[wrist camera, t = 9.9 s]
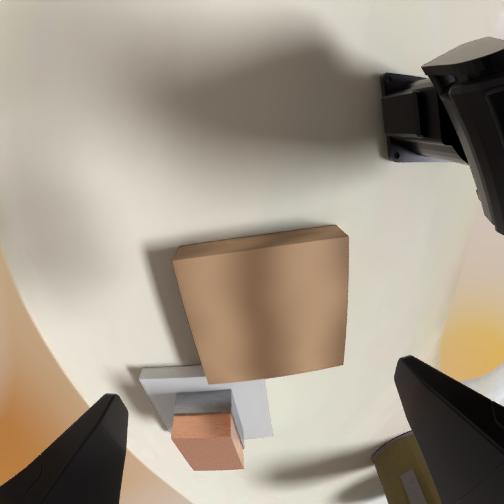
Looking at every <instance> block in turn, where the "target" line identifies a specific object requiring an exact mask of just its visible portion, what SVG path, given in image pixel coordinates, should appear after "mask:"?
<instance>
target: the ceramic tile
mask: <svg viewBox="0 0 504 504" xmlns="http://www.w3.org/2000/svg"><path fill="white" fill-rule="evenodd" d="M139 381H140V382H141V384H142V386H143V388H144V390H145V392H146V394H147V395H148V397H149V399H150V401H151V403H152V404H153V406H154V408H155V410H156V411H157V413H158V415H159V416H160V418H161V420H162V421H163V423H164V425H165V426H166V428H167V429H168V431H169V433H170V434H172V428H173V422H174V415H173V409H174V404H175V398H176V393H179V392H200V391H215V390H227V389H231V390H232V393H233V397H234V400H235V404H236V407H237V410H238V414H239V417H240V420H241V424H242V427H243V432H244V439H254V438H263V437H271V436H273V429H272V422H271V416H270V409H269V403H268V396H267V390H266V383H265V379H260V380H252V381H243V382H233V383H223V384H210V385H209V384H208V382H207V379H206V376H205V373H204V370H203V367H202V365H194V366H178V367H156V368H142V371H141V374H140V377H139Z"/></svg>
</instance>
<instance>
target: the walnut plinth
mask: <svg viewBox="0 0 504 504" xmlns="http://www.w3.org/2000/svg"><path fill="white" fill-rule="evenodd" d="M172 262H173V266H174V270H175V274H176V278H177V282H178V286H179V290H180V293H181V297H182V301H183V304H184V308H185V311H186V315H187V318H188V322H189V325H190V328H191V332H192V335H193V338H194V342H195V345H196V348H197V351H198V354H199V358H200V361H201V364H202V367H203V370H204V373H205V376H206V379H207V382H208V384H209V385H210V384H223V383H233V382H243V381H252V380H260V379H267V378H274V377H281V376H287V375H294V374H299V373H305V372H310V371H316V370H321V369H326V368H331V367H335V366H340V365H343V362H344V351H345V338H346V324H347V306H348V277H349V236H348V235H347V234H346V233H344V232H343V231H342V230H341V229H340V228H339V227H338V226H337V225H332V226H325V227H317V228H309V229H301V230H294V231H286V232H279V233H271V234H264V235H257V236H249V237H242V238H235V239H228V240H221V241H214V242H207V243H200V244H193V245H187V246H180V247H179V248H178V250H177V252H176V254H175V256H174V258H173V260H172Z"/></svg>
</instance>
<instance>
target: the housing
mask: <svg viewBox="0 0 504 504" xmlns="http://www.w3.org/2000/svg"><path fill="white" fill-rule="evenodd" d="M173 415H174V422H173V428H172V434H171V439H172V440H173V442H174V443H175V445H176V446H177V448H178V449H179V451H180V452H181V454H182V455H183V456H184V458H185V459H186V461H187V462H188V463H189V465H190V466H191V467H192V469H193V470H195V471H207V470H235V469H244V459H243V449H244V432H243V427H242V424H241V420H240V417H239V414H238V410H237V407H236V404H235V400H234V397H233V393H232V390H231V389H227V390H215V391H200V392H179V393H176V398H175V404H174V409H173Z"/></svg>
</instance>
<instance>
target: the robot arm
mask: <svg viewBox="0 0 504 504" xmlns="http://www.w3.org/2000/svg"><path fill="white" fill-rule="evenodd" d="M421 68H422V70H423V71H424V73H425V75H428V77H429V78H428V79H427V78H421V77H415V76H408V75H401V74H393V73H385V74H382V75H381V77H380V82H381V88H382V95H383V98H382V109H383V118H384V128H385V133H386V135H387V144H388V156H389V159H390V160H391V161H393V162H456V163H461V164H465V165H469V166H470V169H471V172H472V175H473V178H474V181H475V184H476V187H477V190H476V192H477V195H478V198H479V200H480V201H481V203H482V207H483V211H484V214H485V216H486V217H487V218H488V219H489V221H490V222H491V223H492V224H493V225H495V230H496V231H497V232H499V233H500V234H502V235H504V40H501V39H497V38H492V37H485V38H481V39H478V40H475V41H471V42H468V43H465V44H462V45H460V46H458V47H456V48H454V49H452V50H450V51H448V52H446V53H445V54H443V55H441V56H439V57H437V58H435V59H434V60H432V61H430V62H428V63H426V64H424V65H423V66H421ZM386 77H387V78H388V79H389V83H388V82H387V81H386ZM395 152H396V153H397V157H396V158H395V157H394V153H395ZM394 381H395V384H396V387H397V390H398V393H399V396H400V399H401V402H402V405H403V408H404V412H405V415H406V418H407V420H408V423H409V425H410V427H411V429H412V432H413V434H414V436H415V439H416V441H417V443H418V446H419V448H420V450H421V453H422V455H423V457H424V460H425V462H426V465H427V467H428V470H429V472H430V475H431V477H432V480H433V482H434V485H435V488H436V490H437V493H438V496H439V498H440V501H441V504H504V407H503V406H501V405H500V404H498V403H496V402H494V401H491V400H490V399H489V398H487V397H485V396H483V395H481V394H480V393H478V392H476V391H474V390H472V389H471V388H469V387H467V386H465V385H463V384H462V383H460V382H458V381H456V380H454V379H453V378H451V377H449V376H447V375H445V374H444V373H442V372H440V371H438V370H437V369H435V368H433V367H431V366H430V365H428V364H426V363H424V362H423V361H421V360H419V359H417V358H415V357H414V356H411V355H408V356H405V357H402V358H400V359H399V360H398V363H397V367H396V371H395V374H394ZM127 427H128V410H127V408H126V406H125V405H124V403H123V402H122V400H121V399H120V397H119V396H118V395H117V394H110V393H107V394H105V395H103V396H102V397H101V398H100V399H99V400H98V401H97V402H96V403H95V404H94V405H93V406H92V407H91V408H90V409H89V410H88V411H86V412H85V413H84V414H83V415H82V416H81V417H80V418H79V419H78V420H77V421H76V422H75V423H73V425H71V426H70V427H69V428H68V429H67V430H66V431H65V432H64V433H63V434H62V435H61V436H60V437H58V438H57V439H56V440H55V441H54V442H53V443H52V444H51V445H50V446H49V447H48V448H47V449H46V450H44V451H43V452H42V453H41V455H39V456H38V457H37V458H36V459H35V460H34V461H33V462H31V463H30V464H29V465H28V466H27V467H26V468H24V469H23V470H22V471H21V472H19V473H18V474H17V475H15V476H14V477H13V478H11V479H10V480H9V481H7V482H6V483H4V484H3V485H2V486H0V504H119V498H120V490H121V483H122V476H123V469H124V462H125V456H126V444H127Z"/></svg>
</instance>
